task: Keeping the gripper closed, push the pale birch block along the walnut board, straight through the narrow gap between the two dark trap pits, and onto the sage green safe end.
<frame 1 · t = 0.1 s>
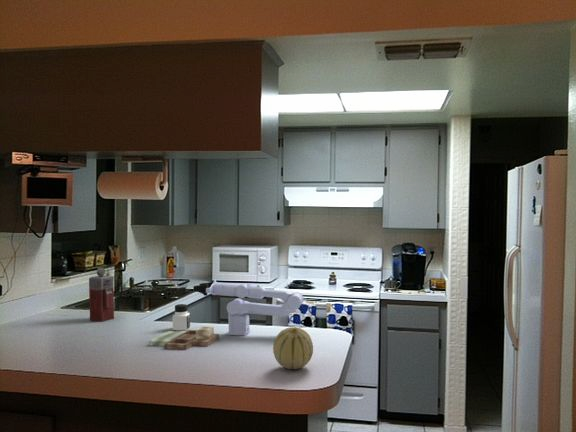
hand: (196, 286, 246), 22 cm above the counter, tool horizontal, fingers open, 7 cm apart
red liquid decanter: (103, 320, 281), on the counter
birch block: (204, 337, 228), point 2 cm above the counter, touching trap board
cantaloupe: (293, 368, 187), on the counter
trap board: (187, 341, 229), on the counter
medicine bottle: (181, 329, 254), on the counter
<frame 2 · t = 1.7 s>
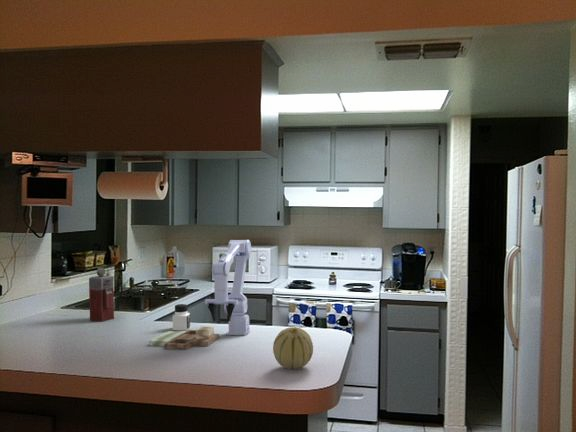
hand: (221, 320, 226), 9 cm above the counter, tool pointing down, fingers open, 6 cm apart
nothing on the counter moved.
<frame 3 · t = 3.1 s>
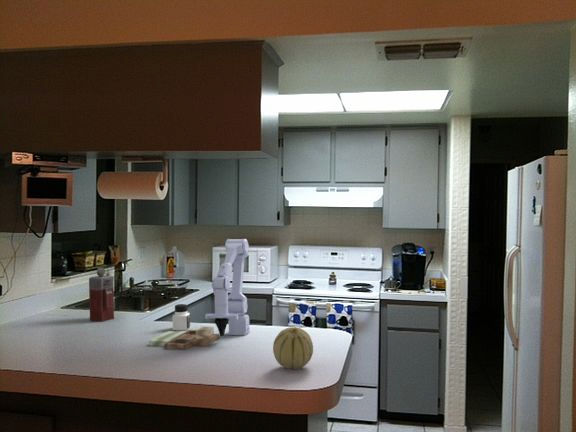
hand: (222, 335, 226), 3 cm above the counter, tool pointing down, fingers closed
nothing on the counter moved.
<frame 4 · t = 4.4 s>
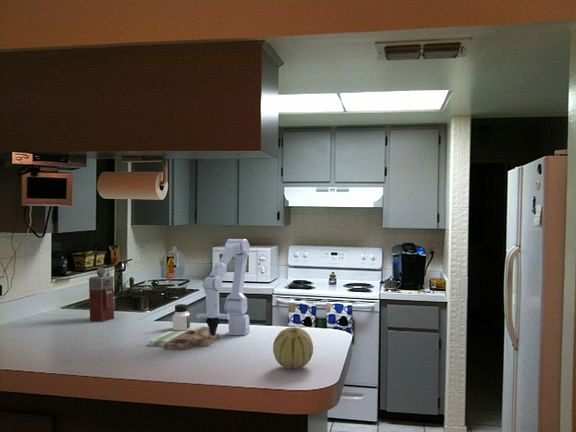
hand: (213, 335, 227), 3 cm above the counter, tool pointing down, fingers closed
birch block: (203, 337, 228), point 2 cm above the counter, touching gripper
everything else where it was.
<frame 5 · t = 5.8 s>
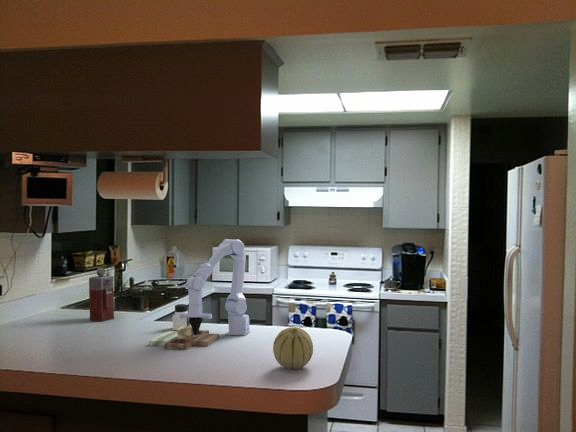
hand: (196, 334, 228), 3 cm above the counter, tool pointing down, fingers closed
birch block: (186, 336, 229), point 2 cm above the counter, touching gripper
everything else where it was.
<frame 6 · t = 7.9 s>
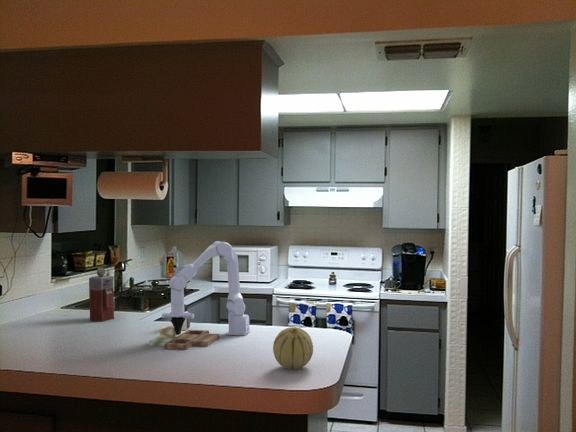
hand: (178, 334, 230), 3 cm above the counter, tool pointing down, fingers closed
birch block: (169, 336, 231), point 2 cm above the counter, touching gripper
everything else where it was.
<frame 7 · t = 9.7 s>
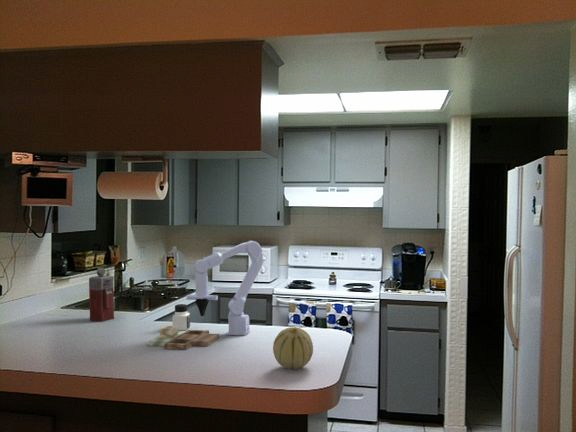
hand: (202, 315, 239), 9 cm above the counter, tool pointing down, fingers closed
birch block: (168, 336, 231), point 2 cm above the counter, touching trap board
everything else where it was.
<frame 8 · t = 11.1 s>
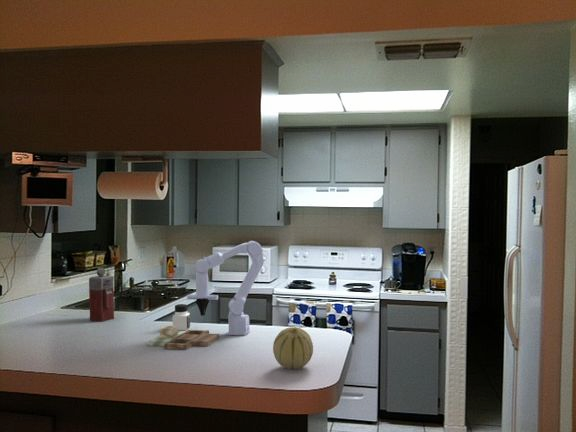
hand: (203, 315, 239), 9 cm above the counter, tool pointing down, fingers closed
nothing on the counter moved.
at the end: birch block inside the target area on the trap board (0.4 cm from its centre), point 2.0 cm above the trap board's base; birch block tilted 0°; birch block moved 16.9 cm from its start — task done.
